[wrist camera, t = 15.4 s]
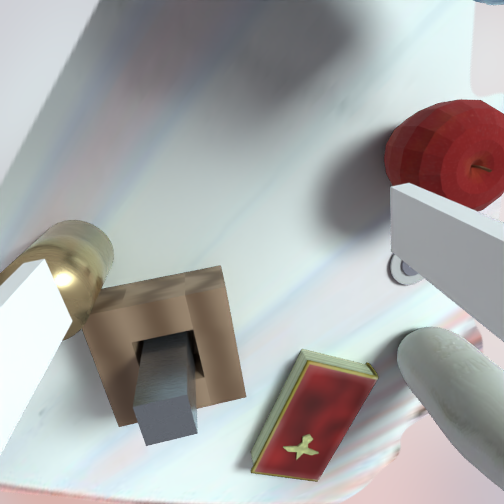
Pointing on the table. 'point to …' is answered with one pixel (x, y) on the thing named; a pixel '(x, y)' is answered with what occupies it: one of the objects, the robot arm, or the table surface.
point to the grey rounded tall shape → (458, 394)
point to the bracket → (403, 272)
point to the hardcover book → (311, 416)
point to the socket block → (160, 324)
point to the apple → (451, 152)
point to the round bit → (72, 265)
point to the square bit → (166, 388)
